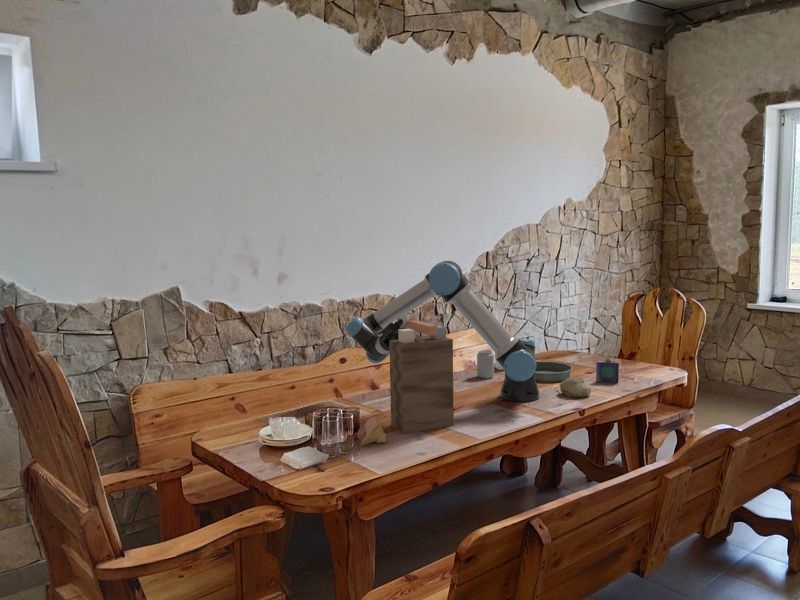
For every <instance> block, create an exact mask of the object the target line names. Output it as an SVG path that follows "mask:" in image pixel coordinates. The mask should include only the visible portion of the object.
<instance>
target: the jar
mask: <svg viewBox="0 0 800 600" xmlns="http://www.w3.org/2000/svg"><path fill="white" fill-rule="evenodd" d="M494 369H497V370H498V371H504V368H503V367H502V366H501V365H500V364H499V362H498V361H497V360H496V359H495V358H494Z"/></svg>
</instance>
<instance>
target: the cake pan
mask: <svg viewBox="0 0 800 600" xmlns="http://www.w3.org/2000/svg"><path fill="white" fill-rule="evenodd" d="M536 364H537V366H536V370H535V381H536V382H546V383H547V382H549V383H550V382H553V383H554V382H562V381H564V380H565V379H566V378H570V375H571V371H573V369H574V367H573V366H572V365H570V364H568V363H564V362H557V361H548V360H547V361H545V360H543V361H542V360H541V361H540V360H539V361H537V360H536Z"/></svg>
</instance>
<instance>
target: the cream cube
mask: <svg viewBox="0 0 800 600" xmlns="http://www.w3.org/2000/svg"><path fill="white" fill-rule="evenodd" d="M414 337H415V331H414V330H412V329H399V330H398V341H399V342H402V343H410V342H415V338H414Z"/></svg>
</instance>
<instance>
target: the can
mask: <svg viewBox="0 0 800 600" xmlns="http://www.w3.org/2000/svg"><path fill="white" fill-rule="evenodd" d="M476 376H477V377H478V378H479V379H483V380H485V379H486V380H487V379H488V380H489V379H492V378H493V377H494V376H495V353H493V350H491V349H490V350H489V349H481V350H478V353H477V354H476Z"/></svg>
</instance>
